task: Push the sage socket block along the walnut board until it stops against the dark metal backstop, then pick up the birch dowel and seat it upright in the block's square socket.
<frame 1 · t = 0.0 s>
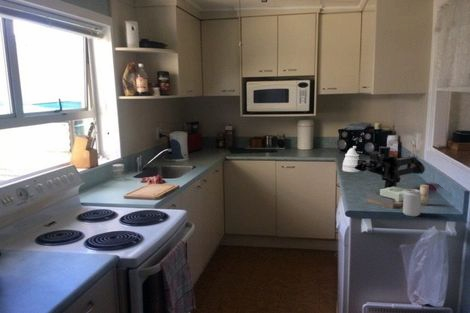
hand: (361, 169, 203), 17 cm above the worktop, tool horizontal, fingers open, 9 cm apart
block: (396, 193, 201), point 4 cm above the worktop, slide at 0.0 cm
dowel: (423, 204, 193), on the worktop
can: (411, 214, 178), on the worktop
honey pot: (351, 170, 280), on the worktop
board: (391, 201, 200), on the worktop
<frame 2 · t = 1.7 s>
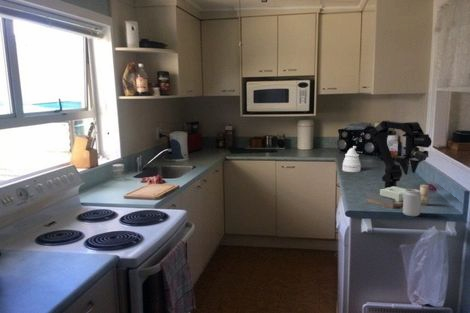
hand: (409, 173, 205), 13 cm above the worktop, tool pointing down, fingers open, 6 cm apart
nothing on the worktop moved.
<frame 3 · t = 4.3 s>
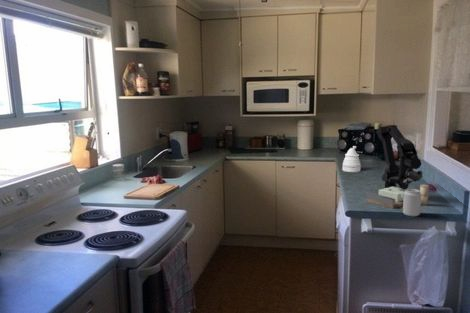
hand: (403, 193, 204), 3 cm above the worktop, tool pointing down, fingers closed
block: (394, 194, 200), point 4 cm above the worktop, slide at 1.1 cm, touching gripper
everything else where it was.
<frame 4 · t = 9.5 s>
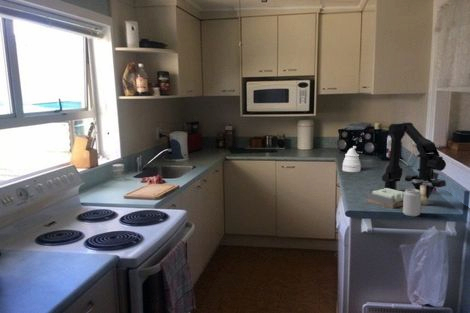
hand: (423, 196, 192), 4 cm above the worktop, tool pointing down, fingers closed on dowel, 4 cm apart
block: (388, 195, 198), point 4 cm above the worktop, slide at 6.0 cm, touching board
dowel: (423, 204, 193), on the worktop, touching gripper
everything else where it was.
when the fingers open (8 cm above the worktop, at t = 13.4 s): dowel stays where it is, resting on block.
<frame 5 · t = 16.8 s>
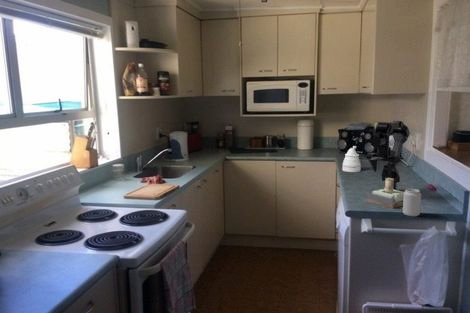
hand: (382, 173, 208), 13 cm above the worktop, tool pointing down, fingers open, 9 cm apart
block: (388, 195, 198), point 4 cm above the worktop, slide at 6.0 cm, touching dowel
dowel: (388, 197, 198), point 3 cm above the worktop, touching block
everything else where it was.
at the end: block slide at 6.0 cm; dowel 0.0 cm from the target spot, point 2.6 cm above the worktop; dowel tilted 0° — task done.
